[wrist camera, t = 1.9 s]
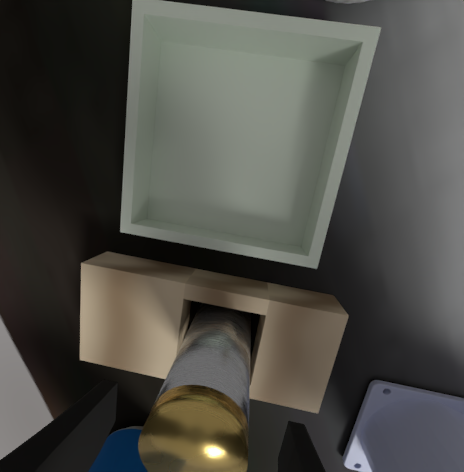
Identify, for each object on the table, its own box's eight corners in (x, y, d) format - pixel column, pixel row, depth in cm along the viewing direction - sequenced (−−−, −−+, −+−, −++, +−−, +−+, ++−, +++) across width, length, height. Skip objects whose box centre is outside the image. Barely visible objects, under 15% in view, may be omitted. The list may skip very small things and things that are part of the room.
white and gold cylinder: (255, 300, 16) (257, 425, 8) (245, 348, 17) (237, 508, 8) (200, 289, 16) (142, 398, 8) (193, 337, 17) (134, 482, 9)
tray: (354, 60, 12) (381, 27, 10) (306, 254, 15) (317, 269, 12) (156, 34, 13) (132, -4, 10) (142, 224, 15) (120, 231, 13)
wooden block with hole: (333, 295, 15) (348, 315, 13) (308, 380, 17) (318, 413, 14) (107, 251, 16) (81, 262, 14) (103, 336, 18) (79, 359, 15)
